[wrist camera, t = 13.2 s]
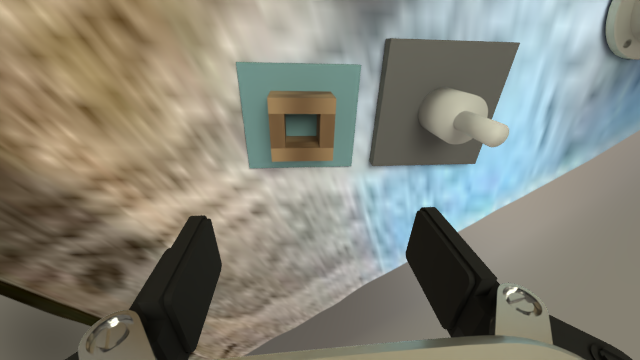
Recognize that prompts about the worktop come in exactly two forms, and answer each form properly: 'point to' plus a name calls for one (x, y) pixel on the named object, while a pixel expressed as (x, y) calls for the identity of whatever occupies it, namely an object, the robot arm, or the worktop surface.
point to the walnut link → (302, 145)
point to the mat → (297, 77)
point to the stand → (439, 101)
